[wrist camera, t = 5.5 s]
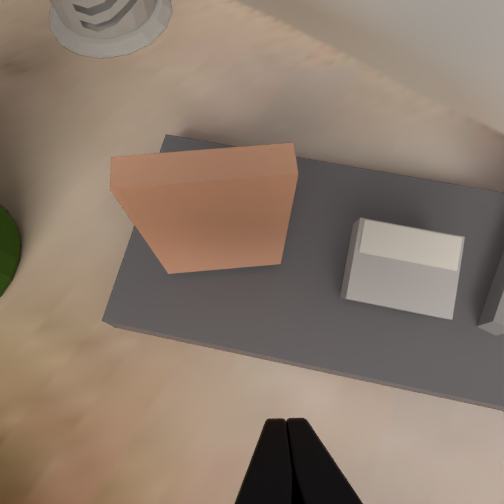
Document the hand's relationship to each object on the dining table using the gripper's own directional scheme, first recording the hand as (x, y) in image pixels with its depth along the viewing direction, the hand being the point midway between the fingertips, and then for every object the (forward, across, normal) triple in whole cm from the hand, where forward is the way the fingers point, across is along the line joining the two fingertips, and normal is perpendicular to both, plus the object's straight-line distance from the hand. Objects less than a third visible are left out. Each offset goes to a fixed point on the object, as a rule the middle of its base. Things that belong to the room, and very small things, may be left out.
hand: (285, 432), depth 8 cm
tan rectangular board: (+14, +2, +2) cm, 14 cm away
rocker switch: (+13, -7, +3) cm, 15 cm away
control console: (+15, -7, +4) cm, 17 cm away
